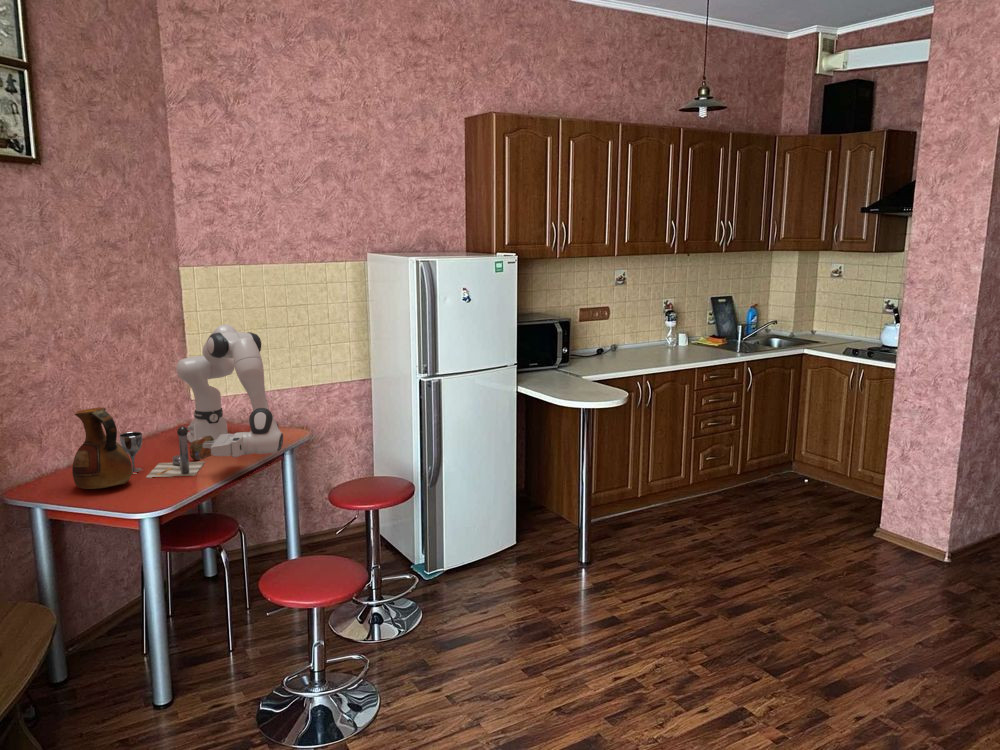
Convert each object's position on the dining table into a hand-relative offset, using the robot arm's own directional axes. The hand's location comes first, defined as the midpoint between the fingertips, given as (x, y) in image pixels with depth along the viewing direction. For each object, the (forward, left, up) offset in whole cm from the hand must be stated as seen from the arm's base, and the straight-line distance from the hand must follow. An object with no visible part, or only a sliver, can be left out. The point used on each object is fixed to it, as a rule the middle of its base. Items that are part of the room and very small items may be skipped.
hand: (203, 444), depth 299 cm
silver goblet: (-22, -20, -12) cm, 32 cm away
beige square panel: (-12, -7, -12) cm, 18 cm away
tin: (-24, +8, -12) cm, 28 cm away
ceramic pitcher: (-9, -34, -12) cm, 37 cm away
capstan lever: (-12, -4, -11) cm, 17 cm away
